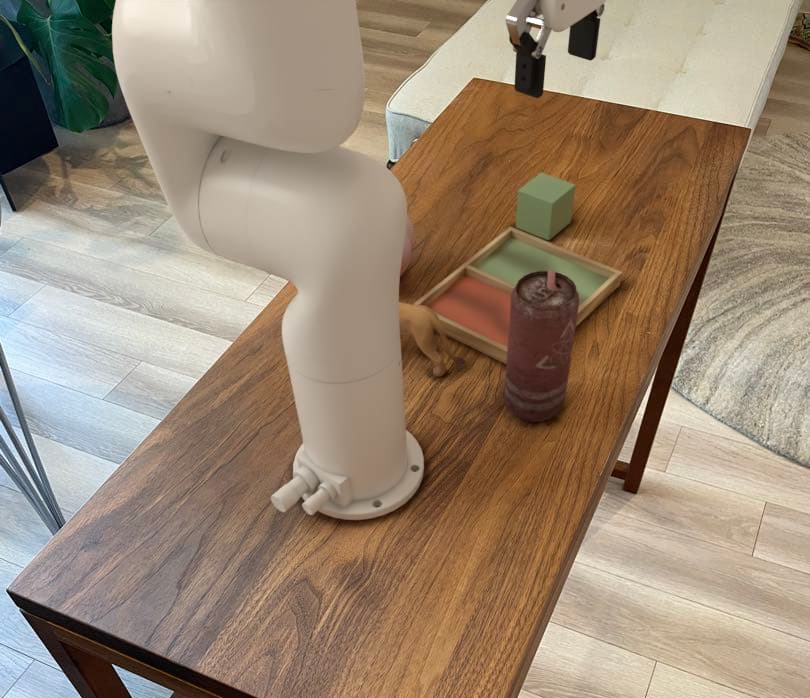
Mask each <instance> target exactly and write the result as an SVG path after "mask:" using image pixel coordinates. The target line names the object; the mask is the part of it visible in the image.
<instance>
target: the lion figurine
mask: <svg viewBox="0 0 810 698" xmlns="http://www.w3.org/2000/svg"><path fill="white" fill-rule="evenodd" d="M399 325H400V336H409V335H413V337H414V340H415V343H416V345H417V346H418V347H419V349H420V350H421V352H422V353H423V354H424V355H425V356H426V357H428V359H430V360H431V361H432V362H433V363H434V364H435V365H436V366H434V367H433V368H432V374H433V375H434V376H435V377H438V378H439V377H442V376H444V374H445V372H446V369H447V367H446V363H445V359H444V357H443V355H441V354H440V353H439V351H438V350H437V349H438V347H439V344H438V343H437V337H438V335H439V338H440V341H441V343H442V345H443V348H444V350H445V353H446V355H447V356H448V357H449V359H450V360H452V361H453V363H455V364H457V365H458V366H461V365H466V363H467V360H466V359H465V358H462V357H458V356H456V355H454V354H453V352H452V350H451V348H450V344H449V341H448V338H447V335H445V332H444V330H443V328H442V325H441V323H440V322H439V318H438V316H437V314H436V313H435V312H434V311H432V310H431V309H430V308H428V307H426V306H423V305H413V304H412V303H407V302H402V301H400V300H399Z"/></svg>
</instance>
